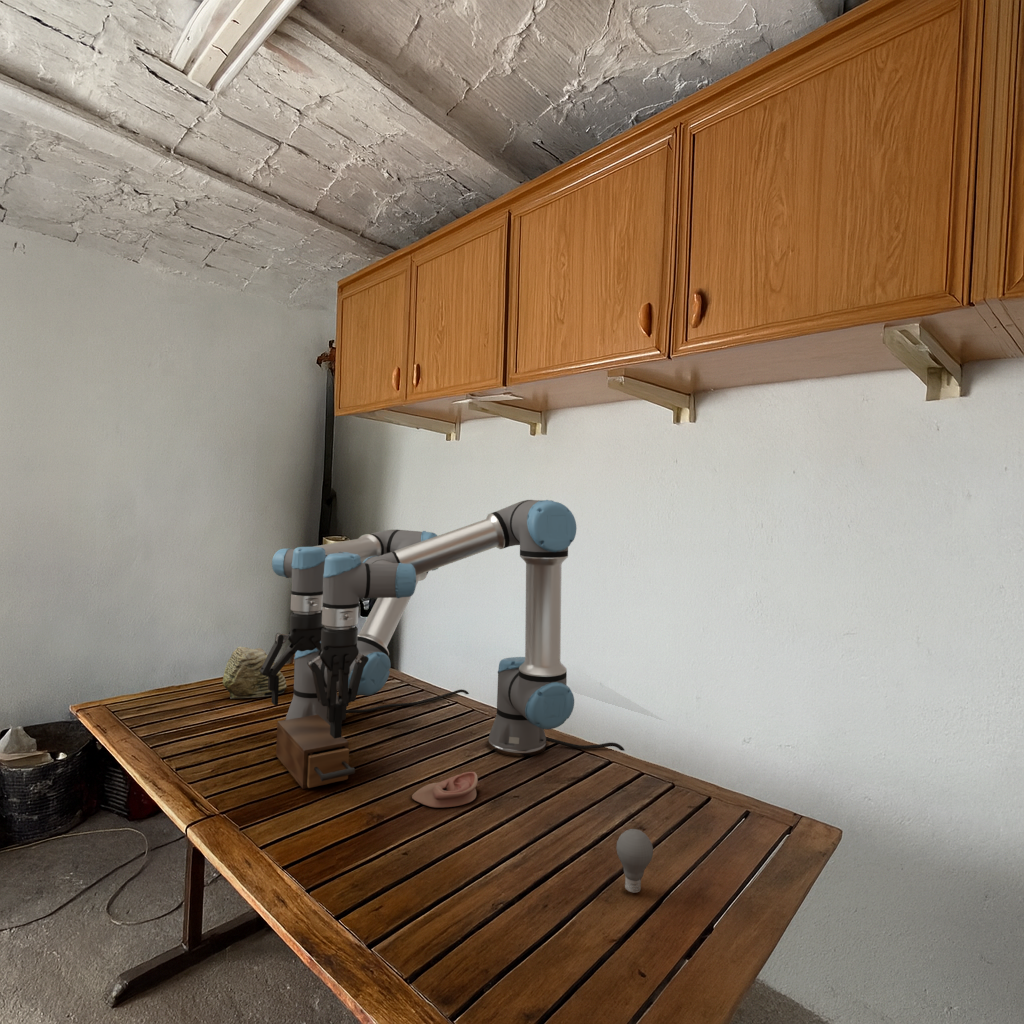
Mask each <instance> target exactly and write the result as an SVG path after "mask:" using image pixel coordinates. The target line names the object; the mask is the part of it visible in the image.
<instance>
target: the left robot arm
mask: <svg viewBox="0 0 1024 1024" xmlns="http://www.w3.org/2000/svg"><path fill="white" fill-rule="evenodd" d="M436 536H438V534H436V533H435V532H433V531H431V532H430V531H426V530H422V531H418V530H406V529H398V528H397V529H385V530H381V531H376V532H371V533H365V534H362V535H360V536H359V537H358V538H355V539H349V540H344V541H343V540H342V541H338V542H332V543H326V544H321V545H320V544H319V545H314V546H297V547H295V548H291V547H289V548H280V549H278V550H277V551H275V553H274V555H273V557H272V559H271V567H272V568H271V569H272V570H273V573H274V574H275V575H277V576H278V577H284V578H286V579H291V591H290V592H291V593H290V611H291V613H290V615H289V616H290V618H289V632H288V633H280V632H277V633H276V634H275V636H274V637H275V638H274V642H273V645H272V646H271V648H270V650H269V652H268V654H267V655H268V656H267V658H266V660H265V662H264V663H263V665H262V667H261V669H260V673H261V674H262V675H264V676H268V689H269V690H270V691H272V696H271V704H273V706H279V694H278V692H279V677H278V676H277V674H278V672H279V671H280V672H281V670H282V669H283V667H284V666H285V665H286V664H287V663H288V662H289V660H290V659H291V658H292V656H294V657H293V659H294V660H293V662H294V663H293V665H294V667H293V695H292V696H293V697H292V699H291V702H290V704H289V708H288V711H287V713H286V715H285V720H288V719H294V718H300V717H306V716H312V715H319V716H320V717H321V718H322V719H323V720H325V721H326V722H327V723H328V724H329V725H330V722H328V721H327V706H323V705H321V704H320V703H319V702H318V698H317V693H316V689H315V684H314V679H313V674H312V670H311V669H310V668H309V666H308V664H307V662H308V661H309V660H314V659H315V658H316V657H318V653H319V651H320V649H321V629H322V628H323V627H324V625H322V607H323V574H324V565H325V558H326V557H327V556H328V555H329V554H334V553H348V554H349V553H351V554H358V555H359V556H360V558H361V563H362V562H363V561H364V560H365V559H367V558H368V557H371V556H381V555H384V554H387V553H390V552H393V551H395V550H398V549H401V548H404V547H407V546H410V545H413V544H416V543H419V542H421V541H424V540H427V539H430V538H433V537H436ZM438 569H439V568H437V569H434V570H431V571H432V572H433V571H436V570H438ZM429 572H430V571H428V572H425V573H423V574H420V575H417V576H416V586H417V585H418V583H419V582H420V581H424V580H426V578H427V576H428V574H429ZM411 597H412V596H410V597H401V598H376V599H375V602H374V604H373V606H372V608H371V611H370V612H369V614H368V615H367V618H366V620H365V622H364V623H363V625H362V626H361V627H362V628H361V629H360V631H359V632H358V638H357V648H358V650H359V653H360V654H363V655H365V656H367V657H368V658H369V660H368V662H367V663H366V665H365V667H364V669H363V673H362V677H361V680H360V684H359V688H358V692H357V696H367V697H369V696H372V695H375V694H377V693H379V692H380V691H381V690H382V689H383V688H384V686H385V685H386V683H387V682H388V680H389V677H390V673H391V671H390V669H391V660H390V657H389V656H390V652H389V649H388V645H389V644H390V642H391V639H392V638H393V635H394V633H395V631H396V629H397V626H398V625H399V623H400V621H401V618H402V616H403V614H404V612H405V610H406V608H407V606H408V605H409V602H410V600H411ZM287 641H289V642H290V643H289V644H288V645H287V647H286V648H285V650H284V651H283V653H282V654H281V655H280V656H279V657H278V655H279V653H280V651H281V649H282V647H283V645H284V644H285V643H286V642H287ZM277 657H278V658H277ZM276 659H277V660H276ZM355 659H356V658H355ZM273 663H275V664H274V665H273ZM272 665H273V666H272ZM354 665H355V660H354V661H353V663H352V664H351V666H350V673H349V677H348V687H349V683H350V680H351V676H352V672H353V668H354ZM320 670H321V673H322V678H323V683H324V688H325V692H326V697H327V668H326V666H325V665H324V664H323V662H322V661H321V668H320ZM338 688H339V671H338V675H337V687H336V704H337V703H338V704H339V702H338ZM459 693H464V695H469V694H470V692H469V691H467V690H465V689H457V690H454V691H452V692H447V693H444V694H442V695H438V696H436V697H431V698H428V699H424V700H417V701H411V702H401V703H390V704H384V705H379V706H375V707H371V708H365V709H346V714H365V713H371V712H375V711H379V710H383V709H389V708H398V707H409V706H410V707H411V706H416V705H423V704H427V703H432V702H435V701H438V700H441V699H444V698H447V697H450V696H454V695H457V694H459ZM343 722H344V720H342V723H343Z"/></svg>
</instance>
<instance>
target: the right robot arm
mask: <svg viewBox="0 0 1024 1024" xmlns="http://www.w3.org/2000/svg"><path fill="white" fill-rule="evenodd" d="M576 521H577V520H576V518H575V516H574V514H573V512H572V511H571V510H570V509H569V508H568V506H566V505H564V504H563V503H562V502H558V501H554V500H551V499H544V500H543V499H538V500H537V499H525V500H521V501H518V502H516V503H513V504H511V505H509V506H505V507H504V508H501V509H499V510H496V511H493V512H490V513H488V514H487V516H486V518H485V519H482V520H480V521H476V522H474V523H471V524H468V525H465V526H462V527H459V528H456V529H454V530H450V531H447V532H445V533H442V534H439V535H437V536H436V537H433V538H430V539H427V540H424V541H421V542H419V543H416V544H413V545H410V546H407V547H404V548H401V549H398V550H395V551H393V552H390V553H387V554H384V555H381V556H371V557H368V558H367V559H365V560H364V561H363V562H362V563H361V558H360V556H359V555H358V554H351V553H349V554H348V553H334V554H329V555H328V556H327V557H326V558H325V565H324V574H323V607H322V610H321V612H322V625H323V628H322V629H321V649H320V651H319V653H318V657H316V658H315V659H314V660H309V661H308V662H307V664H308V666H309V668H310V669H311V670H312V674H313V679H314V684H315V689H316V693H317V698H318V702H319V703H320V704H321V705H323V706H327V721H328V722H330V735H331V736H332V737H333V738H334V739H335V738H340V737H341V736H342V732H343V731H342V730H343V722H342V720H343V721H345V720H346V719H347V713H346V710H347V707H349V705H350V704H349V703H352V702H355V701H356V699H357V696H358V695H357V692H358V688H359V684H360V680H361V677H362V673H363V669H364V667H365V665H366V663H367V662H368V660H369V658H368V657H367V656H365V655H363V654H360V653H359V650H358V648H357V638H358V634H359V628H358V626H357V625H358V624H359V607H360V599H369V598H370V599H371V598H372V599H377V598H401V597H410V596H411V597H412V596H413V595H414V594H415V591H416V589H417V588H416V587H417V585H416V576H417V575H420V574H423V573H425V572H428V571H429V572H431V571H432V570H433V571H435V570H434V569H436V570H438V569H439V568H443V567H445V566H447V565H450V564H453V563H456V562H458V561H461V560H464V559H467V558H469V557H472V556H475V555H478V554H481V553H484V552H486V551H489V550H491V549H494V548H497V549H499V550H503V549H506V548H509V547H515V546H519V557H520V558H521V559H522V561H524V562H525V632H524V635H525V637H524V638H525V639H524V641H525V645H524V656H511V657H505V658H502V659H501V660H500V661H499V663H498V670H497V690H496V694H497V695H496V715H495V718H494V721H493V723H492V726H491V729H490V732H489V735H488V743H487V745H488V747H489V748H490V749H491V750H492V751H494V752H496V753H498V754H501V755H505V756H509V757H531V756H536V755H538V754H541V753H543V752H544V751H545V750H547V742H548V743H553V744H557V745H560V746H564V747H568V748H573V749H577V750H593V749H603V748H607V747H614V748H616V749H618V750H620V751H623V752H624V751H625V748H624V747H623V746H622V745H621V744H619V743H618V742H605V743H598V744H587V745H585V744H584V745H582V744H575V743H571V742H567V741H563V740H559V739H556V738H551V737H547V735H546V732H545V730H554V729H556V728H558V727H560V726H562V725H563V724H564V723H566V721H567V720H568V719H569V718H570V717H571V715H572V713H573V711H574V709H575V708H574V707H575V697H574V693H573V692H572V689H571V688H570V687H569V686H568V685H567V681H568V680H567V679H568V678H567V677H568V676H567V674H568V673H567V667H566V666H565V665H564V664H563V662H562V661H561V649H562V646H561V645H562V642H561V640H562V565H563V563H564V562H565V561H566V560H567V559H568V558H569V547H570V546H571V545H572V543H573V542H574V540H575V538H576V535H577V522H576ZM437 568H438V569H437ZM429 572H428V573H429ZM355 658H356V659H355ZM354 660H355V665H354V668H353V672H352V676H351V680H350V683H349V687H348V677H349V673H350V666H351V664H352V663H353V661H354ZM321 661H322V662H323V664H324V665H325V666H326V668H327V697H326V692H325V688H324V683H323V678H322V673H321V670H320V668H321ZM338 671H339V688H338V691H337V695H338V702H339V704H338V703H337V704H336V687H337V675H338Z"/></svg>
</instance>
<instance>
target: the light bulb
mask: <svg viewBox="0 0 1024 1024" xmlns="http://www.w3.org/2000/svg"><path fill="white" fill-rule="evenodd" d="M615 849H616V854H617V857H618V859H619V861H620V863H621V865H622V867H623V873H624V874H623V875H624V876H625V878H624V888H625V890H627V891H628V892H630V893H634V894H635V893H639V892H640V891H641V889H642V887H641V886H642V879H643V877H644V875H645V871H646V868H647V867H648V866H649V864H650V863H651V861H652V859H653V855H654V847H653V843H652V841H651V838H649V836H648V835H647V834H646V833H645V832H643V831H642V830H641V829H636V828H629V829H627V830H625V831H623V832H622V833H621V834H620V835H619V837H618V839H617V841H616V847H615Z"/></svg>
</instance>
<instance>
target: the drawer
mask: <svg viewBox="0 0 1024 1024" xmlns="http://www.w3.org/2000/svg"><path fill="white" fill-rule="evenodd" d="M349 762H350V749H349V747H348V748H344V749H342V747H338V748H333V749H328V750H323V751H318V752H313V753H308V763H307V786H308V788H307V789H312V788H316V787H319V786H324V785H329V784H334V783H337V782H342V781H346V780H348V779H349V776H351V775H355V773H356V769H355V767H351V766H350V763H349Z"/></svg>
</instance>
